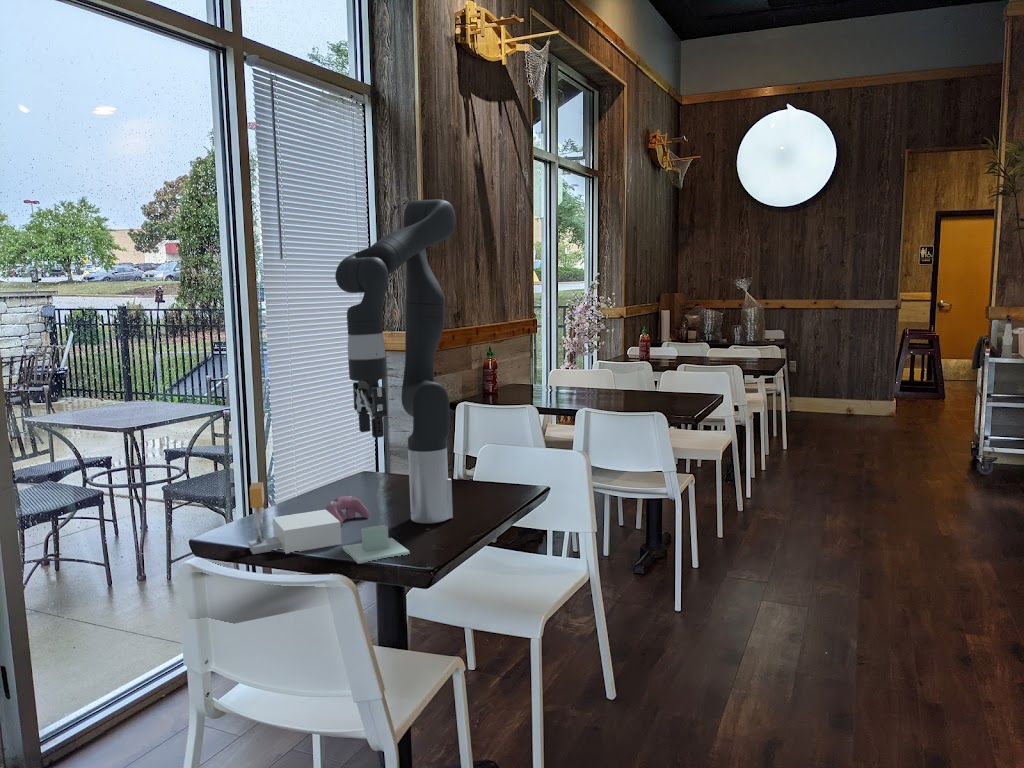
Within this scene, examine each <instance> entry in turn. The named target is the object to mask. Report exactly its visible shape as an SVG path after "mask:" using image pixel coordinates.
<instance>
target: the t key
mask: <svg viewBox="0 0 1024 768" xmlns="http://www.w3.org/2000/svg"><path fill="white" fill-rule="evenodd" d="M249 502H250V508H251V509H253V513H254V516H253V517H254V527H255V528H254V529H255V540H256V542H263V541H264V539H265V537H264V536H265V535H264V525H263V523H264V522H263V519H264V514H265V507H264V503H265V489H264V482H263V481H261V482H260V481H259V482H251V484H250V486H249Z"/></svg>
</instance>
